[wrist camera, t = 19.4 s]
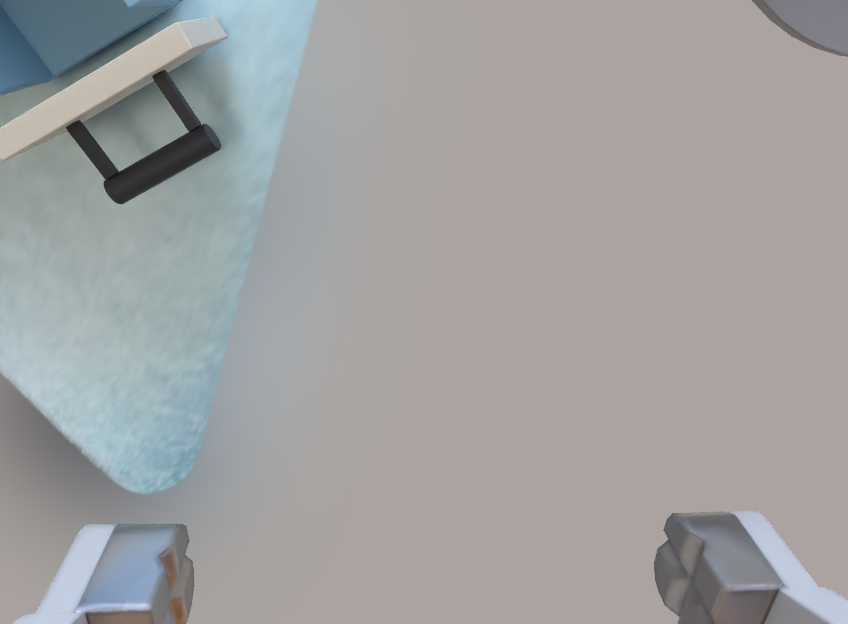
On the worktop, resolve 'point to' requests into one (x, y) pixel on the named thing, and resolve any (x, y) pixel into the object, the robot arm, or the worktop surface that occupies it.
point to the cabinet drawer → (101, 79)
